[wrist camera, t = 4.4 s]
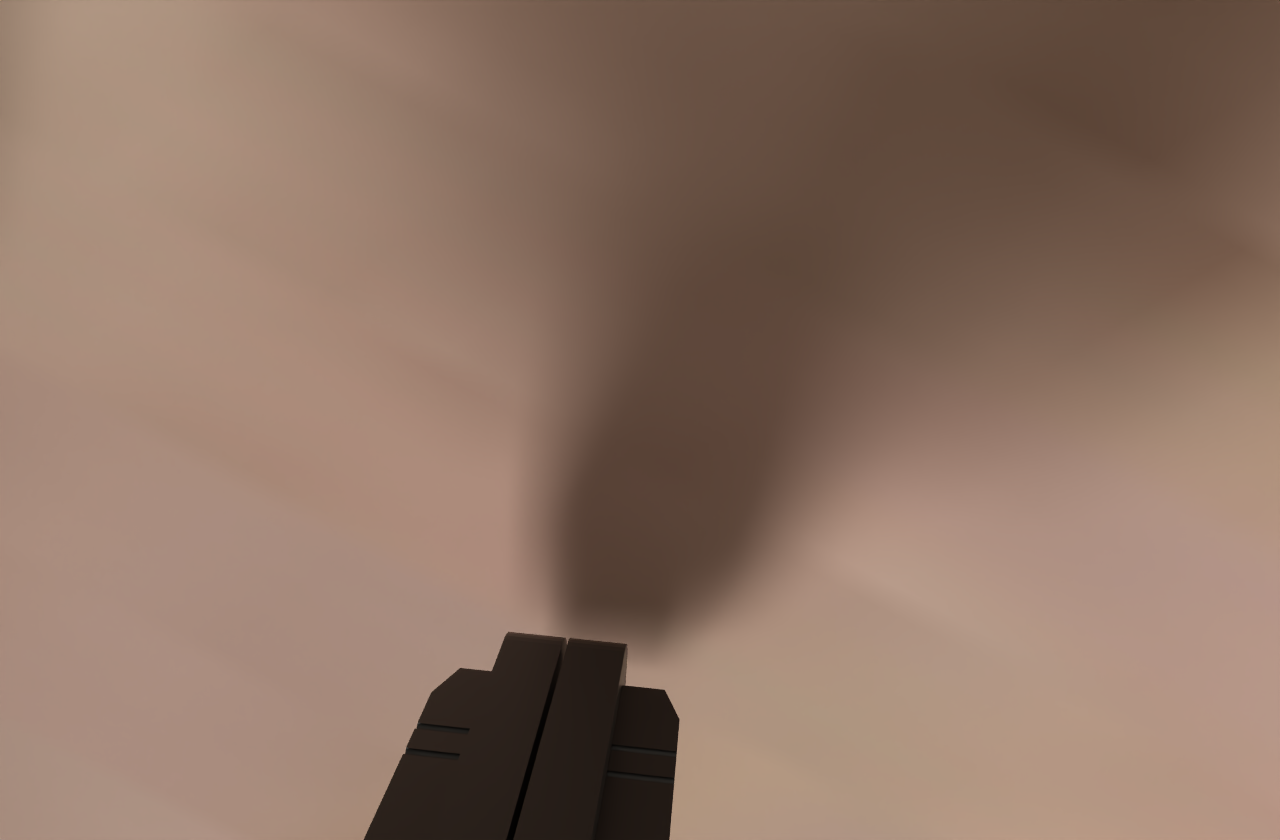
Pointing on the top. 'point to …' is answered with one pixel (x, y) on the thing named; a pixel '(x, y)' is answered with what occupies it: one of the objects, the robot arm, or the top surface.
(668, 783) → the robot arm
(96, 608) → the top surface
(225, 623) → the top surface
